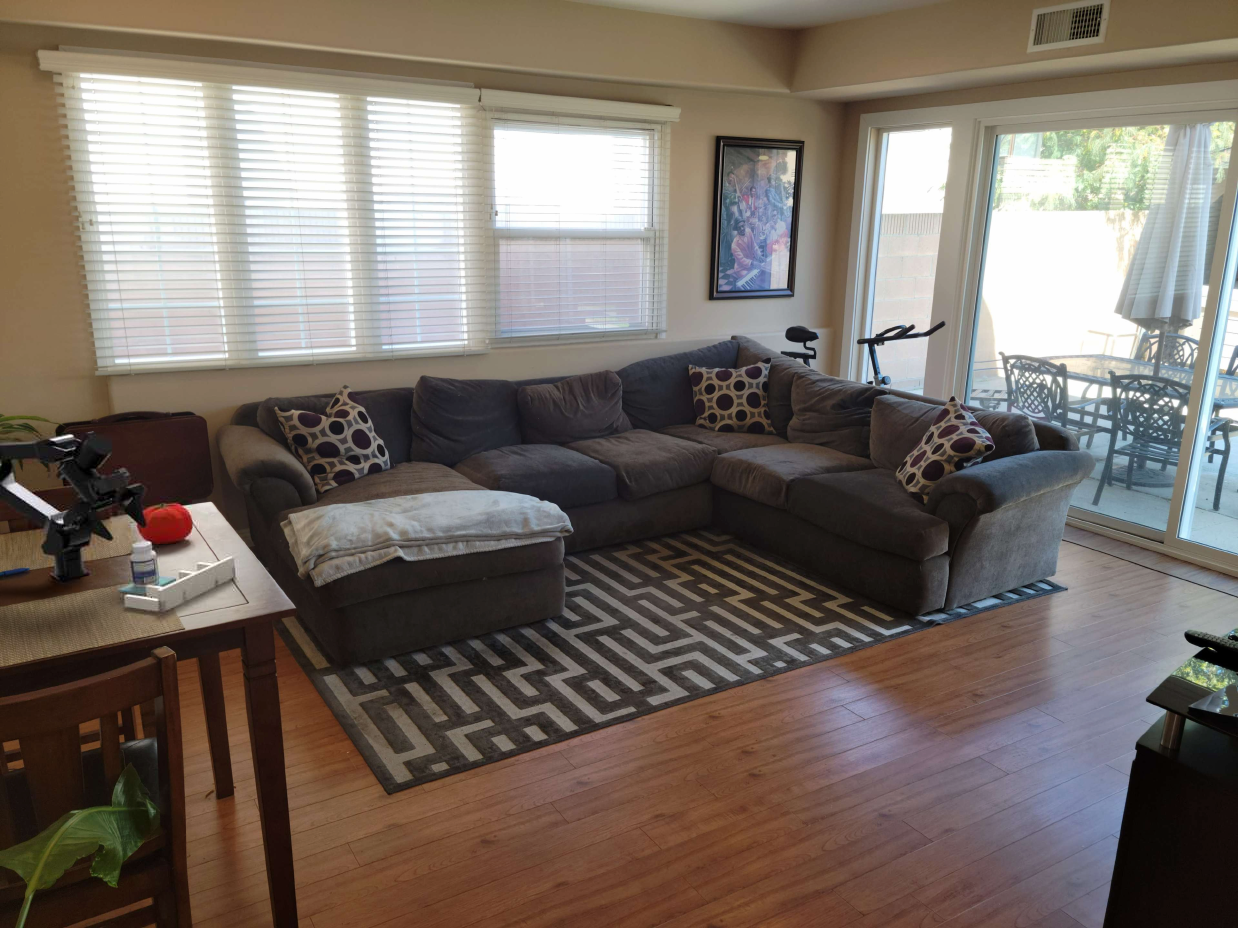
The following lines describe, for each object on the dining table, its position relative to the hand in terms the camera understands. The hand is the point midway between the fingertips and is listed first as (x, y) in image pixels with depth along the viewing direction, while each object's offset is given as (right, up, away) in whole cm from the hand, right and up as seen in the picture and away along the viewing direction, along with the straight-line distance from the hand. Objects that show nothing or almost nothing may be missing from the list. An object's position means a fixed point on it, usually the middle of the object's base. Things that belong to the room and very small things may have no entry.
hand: (129, 533), depth 205 cm
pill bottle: (+3, -12, +2) cm, 13 cm away
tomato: (-8, -5, +33) cm, 34 cm away
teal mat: (+3, -12, +2) cm, 13 cm away
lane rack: (+13, -13, 0) cm, 18 cm away
